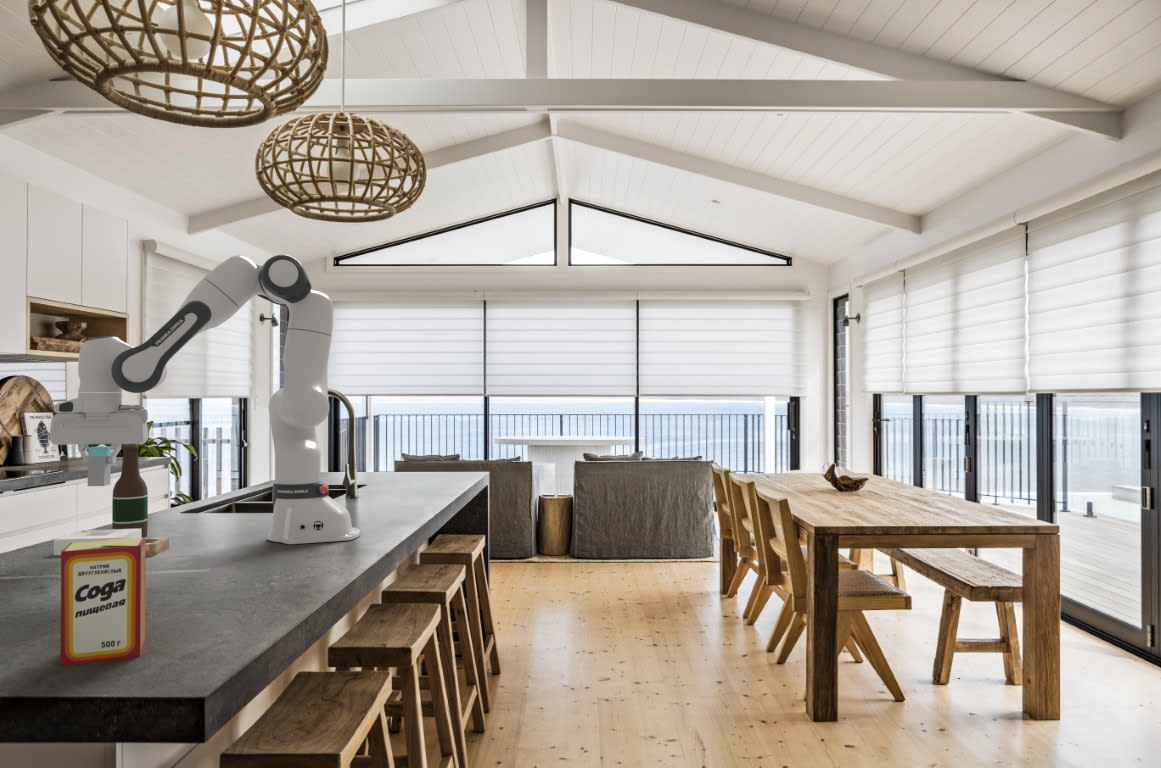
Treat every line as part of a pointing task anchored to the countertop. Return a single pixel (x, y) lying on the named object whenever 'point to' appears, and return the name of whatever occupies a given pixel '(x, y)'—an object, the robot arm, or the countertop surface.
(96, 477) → the plug
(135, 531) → the port
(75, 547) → the baking soda box
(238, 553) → the countertop surface
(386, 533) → the countertop surface
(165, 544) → the square wooden tray
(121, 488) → the beer bottle
